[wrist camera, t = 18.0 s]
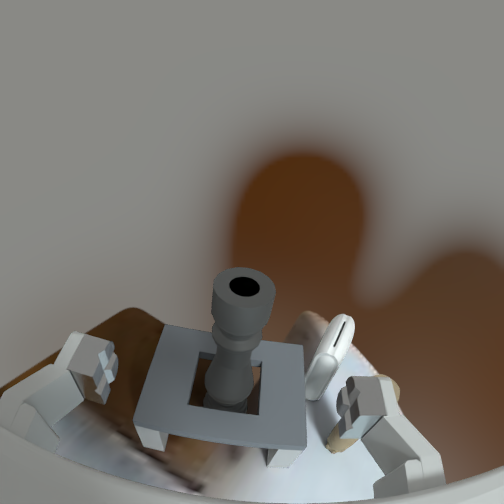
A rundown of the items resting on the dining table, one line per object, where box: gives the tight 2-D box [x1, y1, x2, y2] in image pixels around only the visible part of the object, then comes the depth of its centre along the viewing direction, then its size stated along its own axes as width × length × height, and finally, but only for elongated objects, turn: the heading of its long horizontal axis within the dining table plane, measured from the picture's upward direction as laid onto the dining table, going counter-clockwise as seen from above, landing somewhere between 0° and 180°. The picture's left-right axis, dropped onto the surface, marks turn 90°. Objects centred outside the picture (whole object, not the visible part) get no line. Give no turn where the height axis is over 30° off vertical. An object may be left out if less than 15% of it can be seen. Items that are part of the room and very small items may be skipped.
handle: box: [326, 374, 400, 454], centre depth 35 cm, size 5×6×15 cm
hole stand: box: [133, 324, 307, 468], centre depth 40 cm, size 20×16×9 cm
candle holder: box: [203, 267, 276, 414], centre depth 36 cm, size 6×6×25 cm
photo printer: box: [305, 314, 355, 401], centre depth 47 cm, size 10×4×12 cm, turn 151°
